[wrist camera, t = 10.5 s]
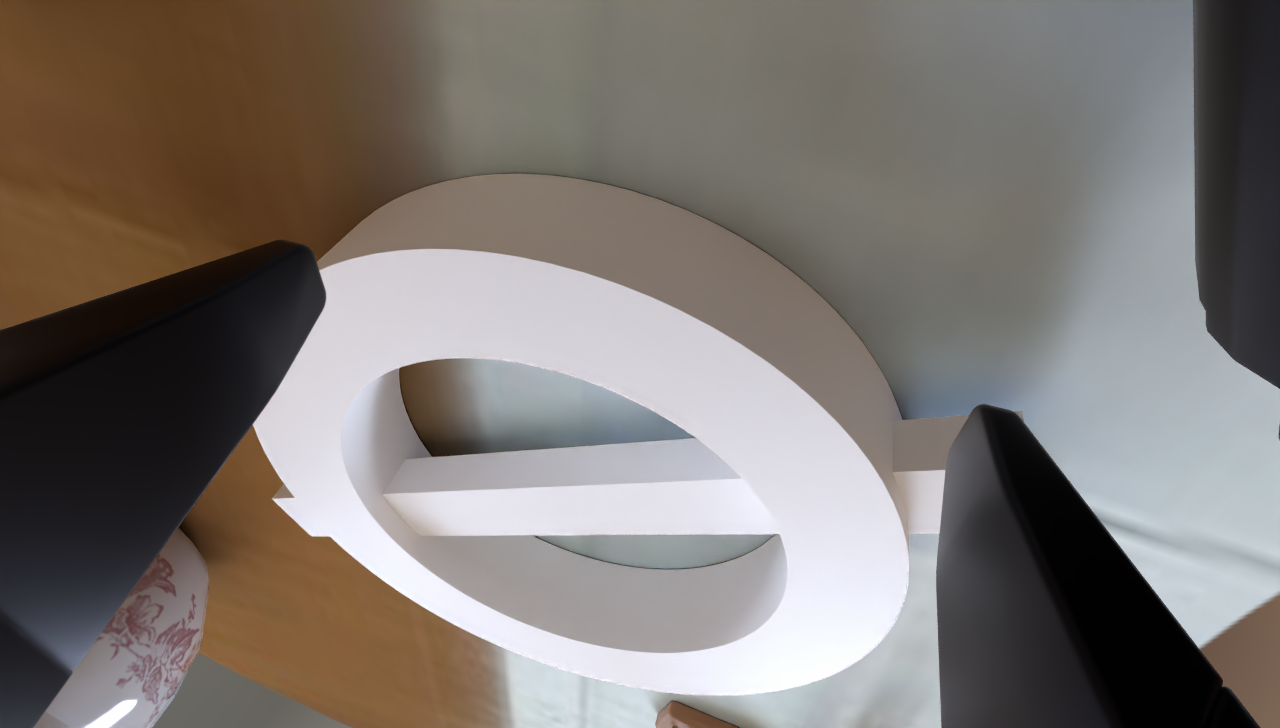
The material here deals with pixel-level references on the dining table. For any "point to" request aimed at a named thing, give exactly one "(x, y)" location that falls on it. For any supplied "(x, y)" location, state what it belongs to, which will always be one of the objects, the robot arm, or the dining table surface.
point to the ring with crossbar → (614, 473)
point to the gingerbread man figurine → (687, 718)
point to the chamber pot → (140, 648)
